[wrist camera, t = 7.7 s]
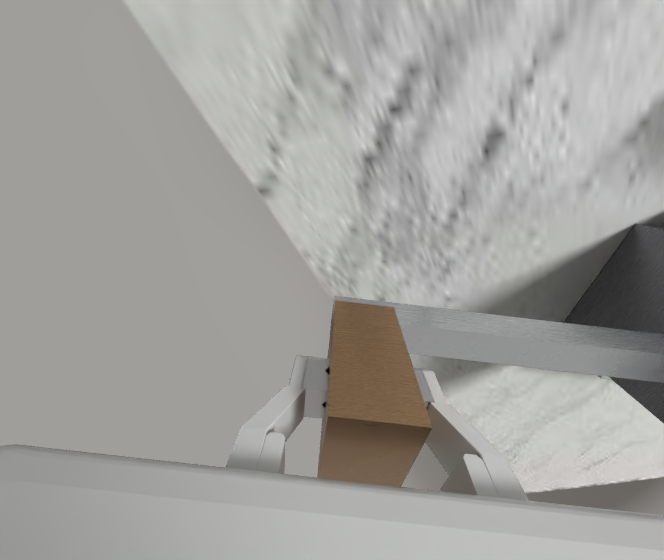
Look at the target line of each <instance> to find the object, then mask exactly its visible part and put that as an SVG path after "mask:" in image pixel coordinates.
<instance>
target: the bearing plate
mask: <svg viewBox="0 0 664 560" xmlns="http://www.w3.org/2000/svg"><path fill="white" fill-rule="evenodd" d="M564 323H570V324H578V325H587V326H596V327H604V328H613V329H621V330H630V331H638V332H647V333H655V334H664V228H663V227H658V226H650V225H642V224H635V225H634V227H633V228H632V230H631V231H630V232H629V234H628V235H627V236H626V238H625V239H624V241H623V242H622V243H621V245H620V246H619V247H618V249H617V250H616V252H615V253H614V254H613V256H612V257H611V258H610V260H609V261H608V263H607V264H606V265H605V267H604V268H603V269H602V271H601V272H600V274H599V275H598V276H597V278H596V279H595V280H594V282H593V283H592V285H591V286H590V287H589V289H588V290H587V291H586V293H585V294H584V296H583V297H582V298H581V300H580V301H579V302H578V304H577V305H576V307H575V308H574V309H573V311H572V312H571V313H570V315H569V316H568V317H567V319H566V320H565V322H564ZM608 377H609V376H608ZM610 378H611V379H612V380H613V381H614V382H615V383H617V384H618V385H619V386H620V387H621V388H623V389H624V390H625V391H626V392H627V393H628V394H630V395H631V396H632V397H633V398H634V399H636V400H637V401H638V402H639V403H640V404H641V405H643V406H644V407H645V408H646V409H647V410H649V411H650V412H651V413H652V414H653V415H654V416H656V417H657V418H658V419H659V420H660V421H662V422H663V423H664V383H661V382H652V381H643V380H635V379H626V378H617V377H610Z"/></svg>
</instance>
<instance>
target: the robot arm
mask: <svg viewBox="0 0 664 560" xmlns="http://www.w3.org/2000/svg"><path fill="white" fill-rule="evenodd" d="M329 366H330V359H324V358H318V357H311V356H302V355H297V356H296V358H295V362H294V366H293V370H292V374H291V378H290V382H289V386H285V387H284V388H283V389H281V391H279V392H278V393H277V394H276V395H275V396H274V397H273V398H272V399H271V400H270V401H269V402H268V403H266V404H265V405H264V406H263V407H262V408H261V409H260V410H259V411H258V412H257V413H256V414H255V415H254V416H253V417H252V418H250V420H249V421H247V422H246V423H245V424H244V425H243V426H242V427H241V429H240V431H239V434H238V437H237V439H236V442H235V444H234V447H233V450H232V452H231V455H230V457H229V460H228V463H227V465H226V468H225V467H215V466H207V465H197V464H188V463H179V462H170V461H161V460H151V459H142V458H133V457H124V456H115V455H106V454H96V453H87V452H79V451H70V450H60V449H52V448H43V447H35V446H26V445H5V446H1V447H0V560H664V516H662V515H653V514H643V513H635V512H626V511H616V510H607V509H598V508H588V507H580V506H570V505H562V504H552V503H542V502H534V501H529V500H528V498H527V496H526V494H525V492H524V490H523V488H522V487H521V485H520V483H519V481H518V479H517V477H516V475H515V473H514V471H513V470H512V468H511V466H510V464H509V462H508V460H507V458H506V457H505V456H504V455H503V454H502V453H501V452H500V451H499V450H498V449H497V448H496V447H495V446H494V445H493V444H492V443H490V442H489V441H488V440H487V439H486V438H485V437H484V436H483V435H482V434H481V433H480V432H479V431H478V430H477V429H476V428H475V427H474V426H473V425H472V424H470V423H469V422H468V421H467V420H466V419H465V418H464V417H463V416H462V415H461V414H460V413H459V412H458V411H457V410H456V409H455V408H454V407H453V406H452V405H449V404H447V402H446V400H445V398H444V395H443V393H442V390H441V388H440V386H439V383H438V381H437V378H436V376H435V374H434V372H433V371H432V370H424V369H416V368H413V369H414V372H415V375H416V378H417V381H418V384H419V387H420V391H421V394H422V397H423V400H424V403H425V406H426V409H427V412H428V416H429V419H430V422H431V425H432V430H431V431H430V433H429V435H428V437H427V439H426V441H425V443H426V444H427V445H428V447H429V448H430V450H431V451H432V452H433V453H434V455H435V457H436V458H437V459H438V461H439V462H440V463H441V465H442V466H443V468H444V469H445V471H446V472H447V473H448V475H449V477H448V479H447V480H446V481H445V483H444V484H443V486H442V487H441V491H434V490H425V489H416V488H407V487H398V486H389V485H380V484H371V483H362V482H353V481H343V480H334V479H325V478H315V477H307V476H298V475H289V474H284V466H285V442H286V441H287V439H288V438H289V437H290V435H291V434H292V433H293V431H294V430H295V429H296V427H297V426H298V425H299V423H300V422H301V421H302V419H303V417H312V418H324V412H325V402H326V398H327V391H328V379H329V375H328V373H329Z"/></svg>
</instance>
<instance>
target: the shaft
mask: <svg viewBox="0 0 664 560" xmlns="http://www.w3.org/2000/svg"><path fill="white" fill-rule="evenodd" d="M409 354H418V355H427V356H435V357H444V358H453V359H461V360H470V361H479V362H487V363H496V364H505V365H513V366H522V367H531V368H539V369H548V370H557V371H565V372H574V373H583V374H591V375H600V376H609V377H617V378H626V379H635V380H643V381H652V382H661V383H664V334H655V333H647V332H638V331H630V330H621V329H613V328H604V327H596V326H587V325H578V324H570V323H561V322H553V321H544V320H536V319H527V318H519V317H510V316H502V315H493V314H485V313H476V312H468V311H459V310H451V309H442V308H434V307H425V306H416V305H408V304H399V303H391V302H382V301H374V300H365V299H357V298H348V297H340V296H335V297H334V304H333V313H332V319H331V330H330V342H329V350H328V358H327V359H330V366H329V373H328V375H329V379H328V391H327V398H326V402H325V412H324V418H322V430H321V441H320V454H319V464H318V476H317V478H325V479H334V480H343V481H353V482H362V483H371V484H380V485H389V486H398V487H401V485H402V484H403V482H404V480H405V478H406V476H407V474H408V472H409V471H410V469H411V467H412V465H413V463H414V461H415V459H416V457H417V456H418V454H419V452H420V450H421V448H422V446H423V444H424V443H425V441H426V439H427V437H428V435H429V433H430V431H431V430H432V425H431V422H430V419H429V416H428V412H427V409H426V406H425V403H424V400H423V397H422V394H421V391H420V387H419V384H418V381H417V378H416V375H415V372H414V369H413V365H412V362H411V359H410V356H409Z"/></svg>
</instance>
